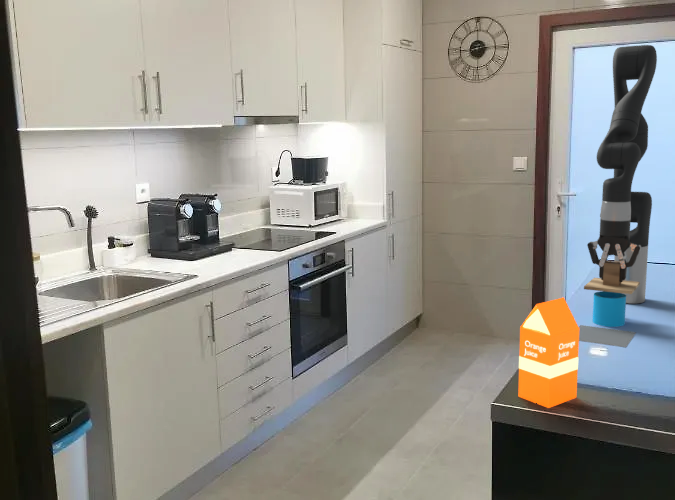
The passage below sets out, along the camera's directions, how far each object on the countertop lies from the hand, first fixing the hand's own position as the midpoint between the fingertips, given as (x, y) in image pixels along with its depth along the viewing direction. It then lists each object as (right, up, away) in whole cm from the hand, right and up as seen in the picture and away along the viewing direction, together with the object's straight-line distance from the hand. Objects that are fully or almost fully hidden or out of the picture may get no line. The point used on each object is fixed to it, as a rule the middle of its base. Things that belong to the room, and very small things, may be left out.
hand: (612, 280), depth 190 cm
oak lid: (0, -2, 0) cm, 2 cm away
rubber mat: (-7, -14, -11) cm, 19 cm away
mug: (0, -12, +2) cm, 12 cm away
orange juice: (-32, -22, -49) cm, 62 cm away
